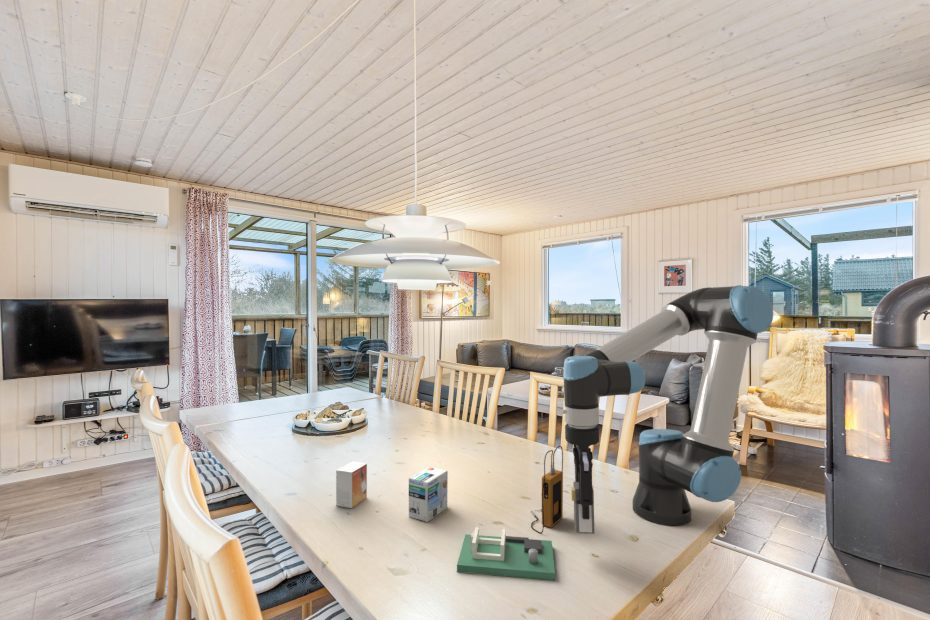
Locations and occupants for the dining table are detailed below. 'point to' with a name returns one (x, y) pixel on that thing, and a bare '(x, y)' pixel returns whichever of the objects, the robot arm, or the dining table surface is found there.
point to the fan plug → (576, 508)
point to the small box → (351, 484)
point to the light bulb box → (428, 493)
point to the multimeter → (551, 496)
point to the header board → (506, 556)
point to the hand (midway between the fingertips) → (584, 525)
